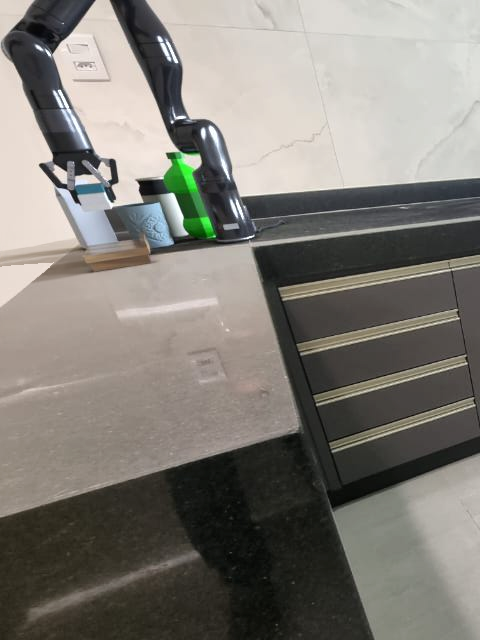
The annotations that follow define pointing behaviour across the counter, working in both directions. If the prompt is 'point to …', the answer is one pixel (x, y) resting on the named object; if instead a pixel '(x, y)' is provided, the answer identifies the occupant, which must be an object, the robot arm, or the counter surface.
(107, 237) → the milk carton
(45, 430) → the counter surface
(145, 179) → the travel mug
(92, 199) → the two-tone teal block
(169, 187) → the plastic bottle
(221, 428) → the counter surface
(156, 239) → the blue embossed mug
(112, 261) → the wooden tray
